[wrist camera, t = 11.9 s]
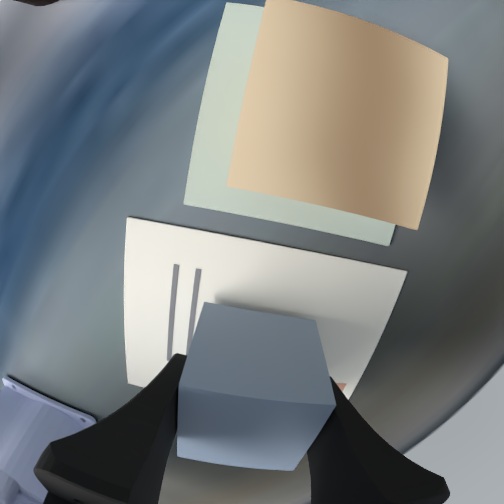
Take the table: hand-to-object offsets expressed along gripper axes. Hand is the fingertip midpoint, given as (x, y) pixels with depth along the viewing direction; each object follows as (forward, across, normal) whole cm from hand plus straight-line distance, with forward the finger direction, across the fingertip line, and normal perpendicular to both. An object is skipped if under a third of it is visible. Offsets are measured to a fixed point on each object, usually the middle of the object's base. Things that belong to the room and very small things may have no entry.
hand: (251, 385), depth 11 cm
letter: (+3, 0, 0) cm, 3 cm away
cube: (+3, 0, 0) cm, 3 cm away
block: (+3, 0, -10) cm, 11 cm away
